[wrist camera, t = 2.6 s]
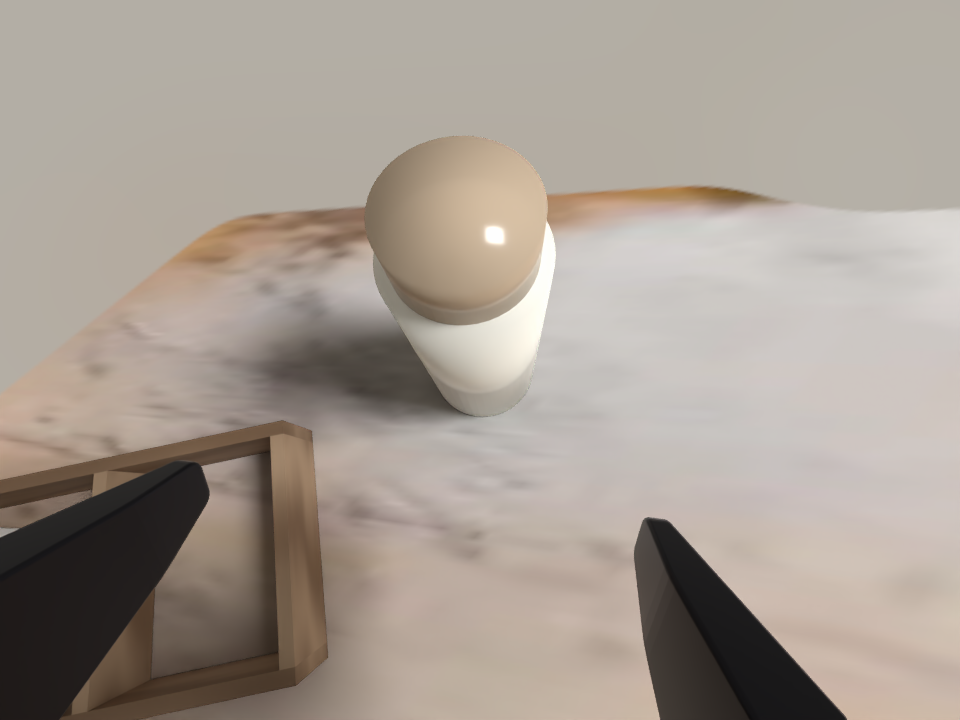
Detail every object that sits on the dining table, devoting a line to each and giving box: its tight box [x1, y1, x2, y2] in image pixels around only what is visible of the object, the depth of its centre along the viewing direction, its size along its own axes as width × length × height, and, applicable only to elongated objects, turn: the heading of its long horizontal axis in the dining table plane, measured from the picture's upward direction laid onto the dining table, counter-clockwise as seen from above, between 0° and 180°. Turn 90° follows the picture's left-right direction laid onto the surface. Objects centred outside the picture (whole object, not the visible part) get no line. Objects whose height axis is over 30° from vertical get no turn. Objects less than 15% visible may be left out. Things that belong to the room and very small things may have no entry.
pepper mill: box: [365, 136, 556, 417], centre depth 16 cm, size 5×5×13 cm
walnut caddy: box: [0, 421, 328, 720], centre depth 19 cm, size 10×18×3 cm, turn 101°
